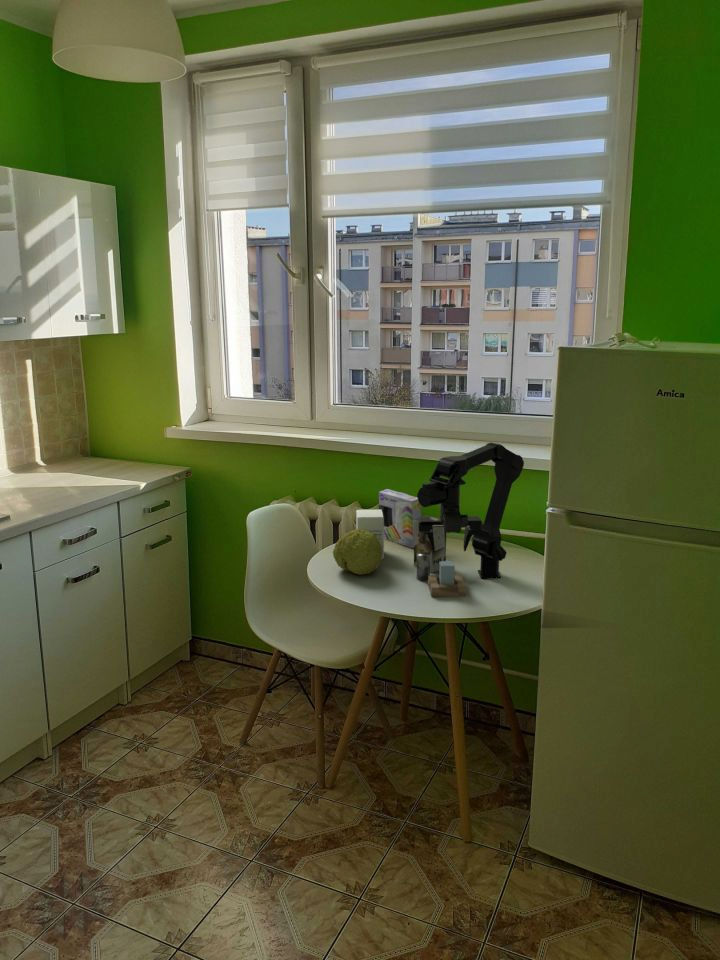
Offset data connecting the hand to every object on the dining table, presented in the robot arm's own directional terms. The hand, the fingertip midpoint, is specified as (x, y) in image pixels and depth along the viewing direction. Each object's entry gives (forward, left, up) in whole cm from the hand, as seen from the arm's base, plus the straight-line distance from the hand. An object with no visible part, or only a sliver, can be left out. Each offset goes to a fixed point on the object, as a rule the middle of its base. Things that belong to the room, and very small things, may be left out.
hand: (449, 551), depth 230 cm
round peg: (-8, -7, -12) cm, 16 cm away
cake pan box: (-44, -12, -12) cm, 48 cm away
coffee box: (-18, -4, -12) cm, 22 cm away
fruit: (-15, -27, -12) cm, 33 cm away
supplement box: (-30, -23, -12) cm, 40 cm away
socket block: (+2, -1, -12) cm, 12 cm away
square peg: (+2, -1, -11) cm, 11 cm away
